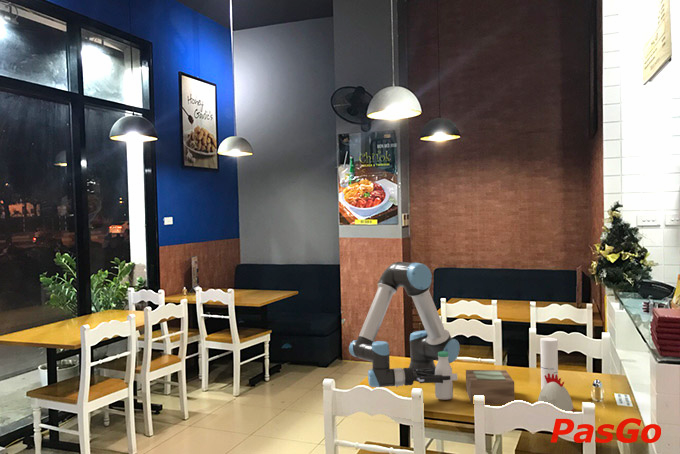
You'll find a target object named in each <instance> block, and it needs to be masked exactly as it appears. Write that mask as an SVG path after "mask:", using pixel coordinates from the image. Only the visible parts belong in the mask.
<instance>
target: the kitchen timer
mask: <svg viewBox="0 0 680 454" xmlns="http://www.w3.org/2000/svg"><path fill="white" fill-rule="evenodd" d="M545 379H546V381H547V384H546V385H545V386H544V387H543V389H542V390H541V389H540V392H539V396H538V399H537V402H538V401H544V402H548V403H551V404H553V405H554V406H556V407H558V408H560V409H562V410H565V411H574V404H573V401H572V398H571V396H570V393H569V392H568V390H567V388H566V387H565V386H564V384H565V381H562V383H561V380H562V377H559V376H558V377H557V375H555V379H554V374H552V377H550V374H549V373H548V378H547V376H546V375H545Z"/></svg>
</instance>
